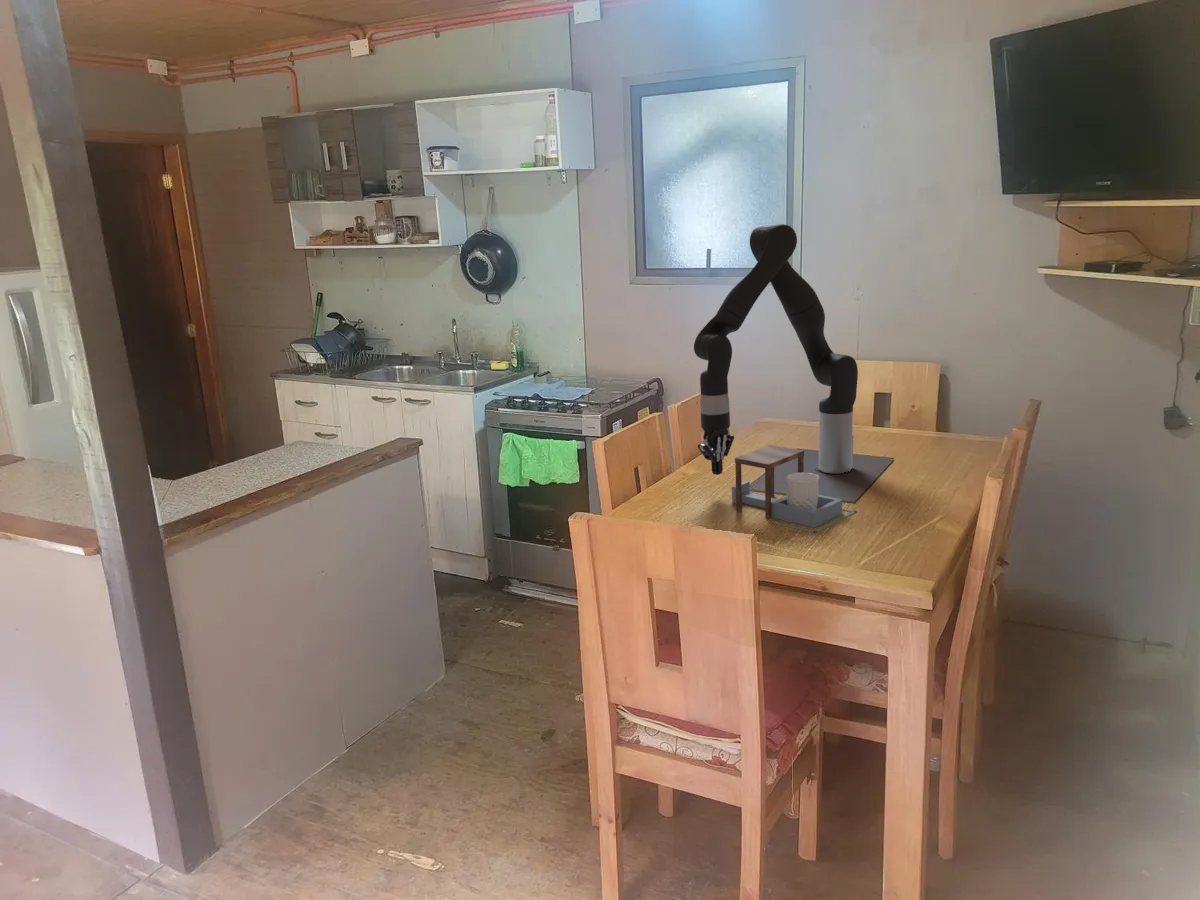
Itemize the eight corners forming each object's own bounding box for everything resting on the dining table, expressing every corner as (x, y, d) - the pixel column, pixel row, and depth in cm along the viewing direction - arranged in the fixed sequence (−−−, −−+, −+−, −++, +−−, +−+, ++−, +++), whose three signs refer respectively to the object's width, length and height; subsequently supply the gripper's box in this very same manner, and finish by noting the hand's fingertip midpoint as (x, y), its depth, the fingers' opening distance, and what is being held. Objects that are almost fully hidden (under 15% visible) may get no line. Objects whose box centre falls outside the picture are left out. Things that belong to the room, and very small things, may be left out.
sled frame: (753, 494, 230) (753, 478, 228) (842, 513, 211) (842, 496, 210) (724, 505, 221) (724, 489, 220) (814, 527, 203) (814, 509, 202)
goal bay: (815, 504, 220) (815, 502, 220) (856, 513, 212) (856, 511, 212) (773, 524, 208) (773, 522, 207) (815, 534, 200) (815, 532, 199)
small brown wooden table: (771, 497, 227) (770, 444, 224) (803, 504, 220) (804, 450, 217) (735, 512, 217) (734, 458, 214) (768, 520, 210) (768, 464, 207)
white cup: (819, 511, 215) (820, 472, 212) (817, 522, 208) (817, 482, 205) (787, 510, 217) (787, 471, 215) (784, 520, 210) (784, 481, 207)
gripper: (710, 417, 218) (713, 482, 222) (742, 406, 227) (744, 469, 231) (687, 413, 223) (690, 478, 228) (719, 403, 232) (721, 465, 236)
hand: (717, 473), depth 229 cm, fingers closed
